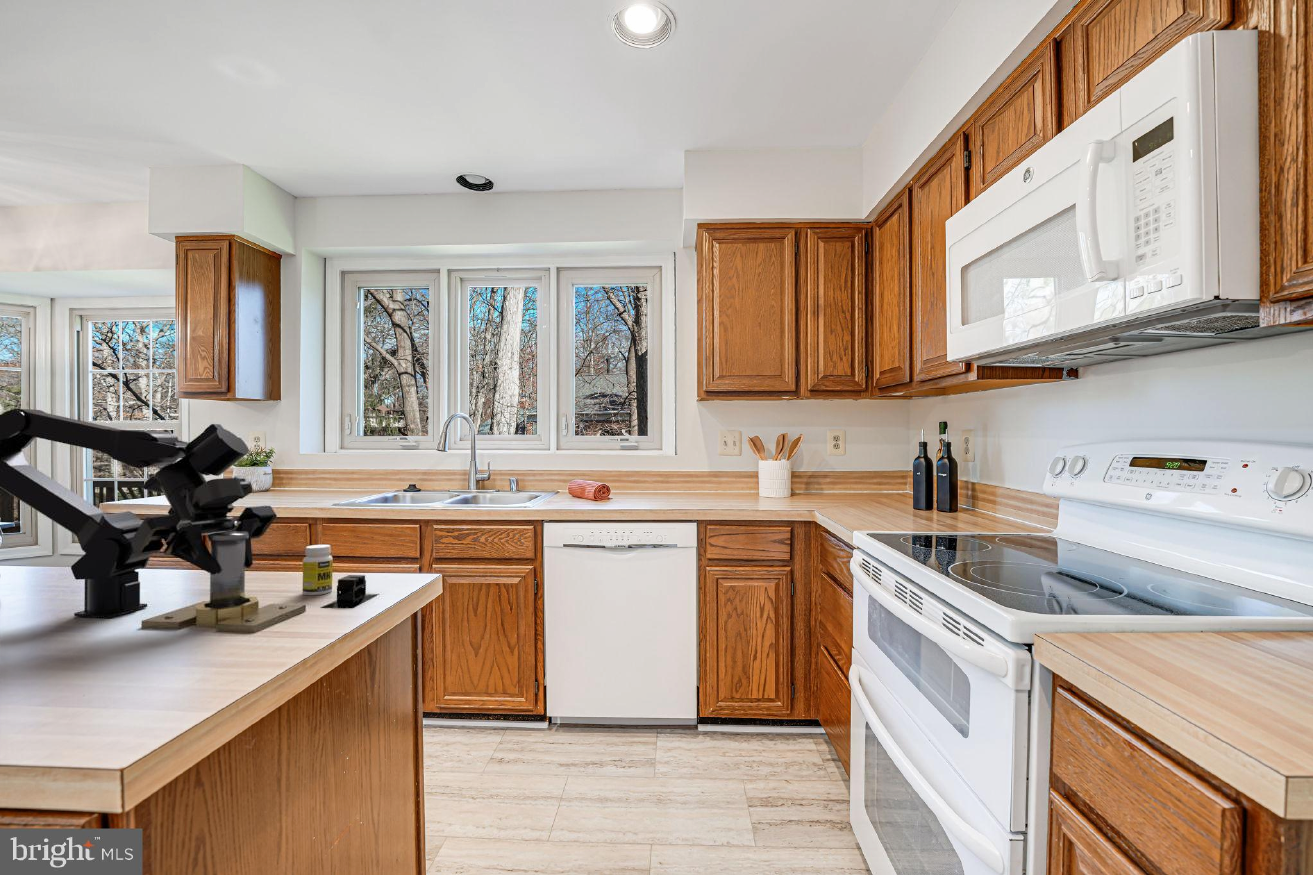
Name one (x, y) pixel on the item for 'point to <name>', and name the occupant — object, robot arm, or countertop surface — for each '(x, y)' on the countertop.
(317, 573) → the supplement bottle
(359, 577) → the black notched mount
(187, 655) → the countertop surface
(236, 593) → the hinge pin
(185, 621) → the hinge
